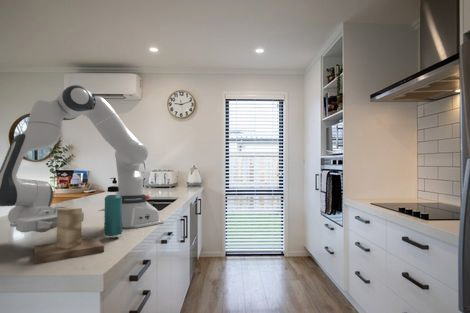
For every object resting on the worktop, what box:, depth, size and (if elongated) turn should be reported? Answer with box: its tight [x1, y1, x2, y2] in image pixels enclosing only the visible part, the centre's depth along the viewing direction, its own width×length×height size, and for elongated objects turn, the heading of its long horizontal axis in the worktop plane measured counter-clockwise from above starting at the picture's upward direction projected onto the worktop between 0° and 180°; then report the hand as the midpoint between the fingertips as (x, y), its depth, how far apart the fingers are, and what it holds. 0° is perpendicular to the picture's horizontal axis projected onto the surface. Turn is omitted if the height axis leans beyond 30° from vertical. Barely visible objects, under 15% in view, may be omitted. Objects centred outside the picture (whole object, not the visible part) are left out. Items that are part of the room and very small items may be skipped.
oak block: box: [56, 206, 83, 249], centre depth 92 cm, size 5×5×12 cm
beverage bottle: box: [103, 185, 123, 237], centre depth 110 cm, size 6×7×20 cm
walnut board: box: [33, 236, 105, 265], centre depth 92 cm, size 18×14×2 cm
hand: (65, 222), depth 93 cm, fingers open, 8 cm apart
